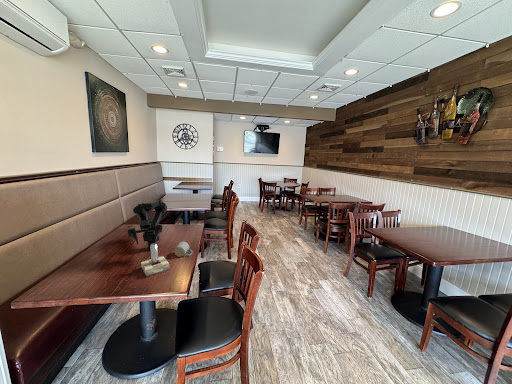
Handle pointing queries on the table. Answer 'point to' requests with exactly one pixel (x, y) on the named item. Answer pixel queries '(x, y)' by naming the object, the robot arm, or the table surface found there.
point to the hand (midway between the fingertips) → (146, 243)
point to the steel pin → (154, 254)
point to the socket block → (155, 266)
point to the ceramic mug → (182, 249)
